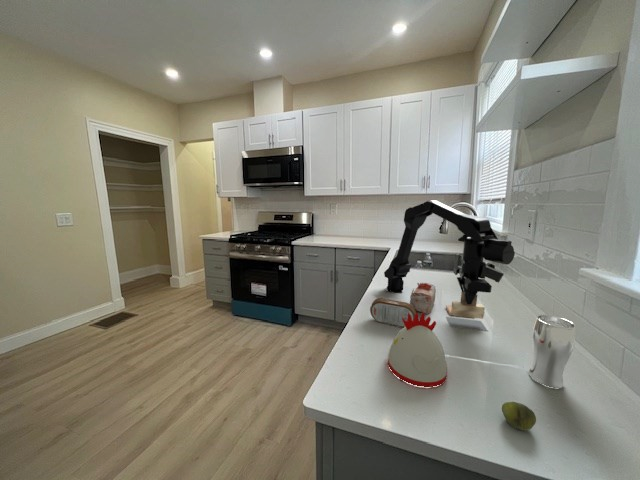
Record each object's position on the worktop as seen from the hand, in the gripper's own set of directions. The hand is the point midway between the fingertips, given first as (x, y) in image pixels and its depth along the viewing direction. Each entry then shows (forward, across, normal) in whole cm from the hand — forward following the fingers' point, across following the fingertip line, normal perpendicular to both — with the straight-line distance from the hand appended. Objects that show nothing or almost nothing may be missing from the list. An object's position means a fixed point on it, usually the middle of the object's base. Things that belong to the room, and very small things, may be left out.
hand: (467, 302), depth 83 cm
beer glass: (+8, -24, -11) cm, 27 cm away
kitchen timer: (+8, -28, +18) cm, 34 cm away
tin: (+8, -7, +24) cm, 26 cm away
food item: (+8, +10, +12) cm, 18 cm away
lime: (+8, -40, +1) cm, 40 cm away
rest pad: (+8, 0, 0) cm, 8 cm away
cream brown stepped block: (+5, 0, 0) cm, 5 cm away
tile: (+8, +11, 0) cm, 14 cm away
